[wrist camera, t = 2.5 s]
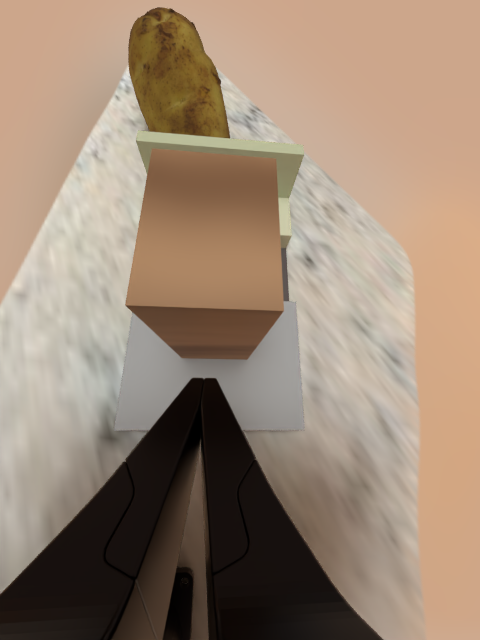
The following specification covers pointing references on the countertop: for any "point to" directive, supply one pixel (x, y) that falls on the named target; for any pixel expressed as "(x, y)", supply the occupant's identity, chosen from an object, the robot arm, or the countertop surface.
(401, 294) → the countertop surface
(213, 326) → the walnut block
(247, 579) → the robot arm
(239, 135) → the countertop surface
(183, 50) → the potato
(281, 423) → the trap board
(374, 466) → the countertop surface
